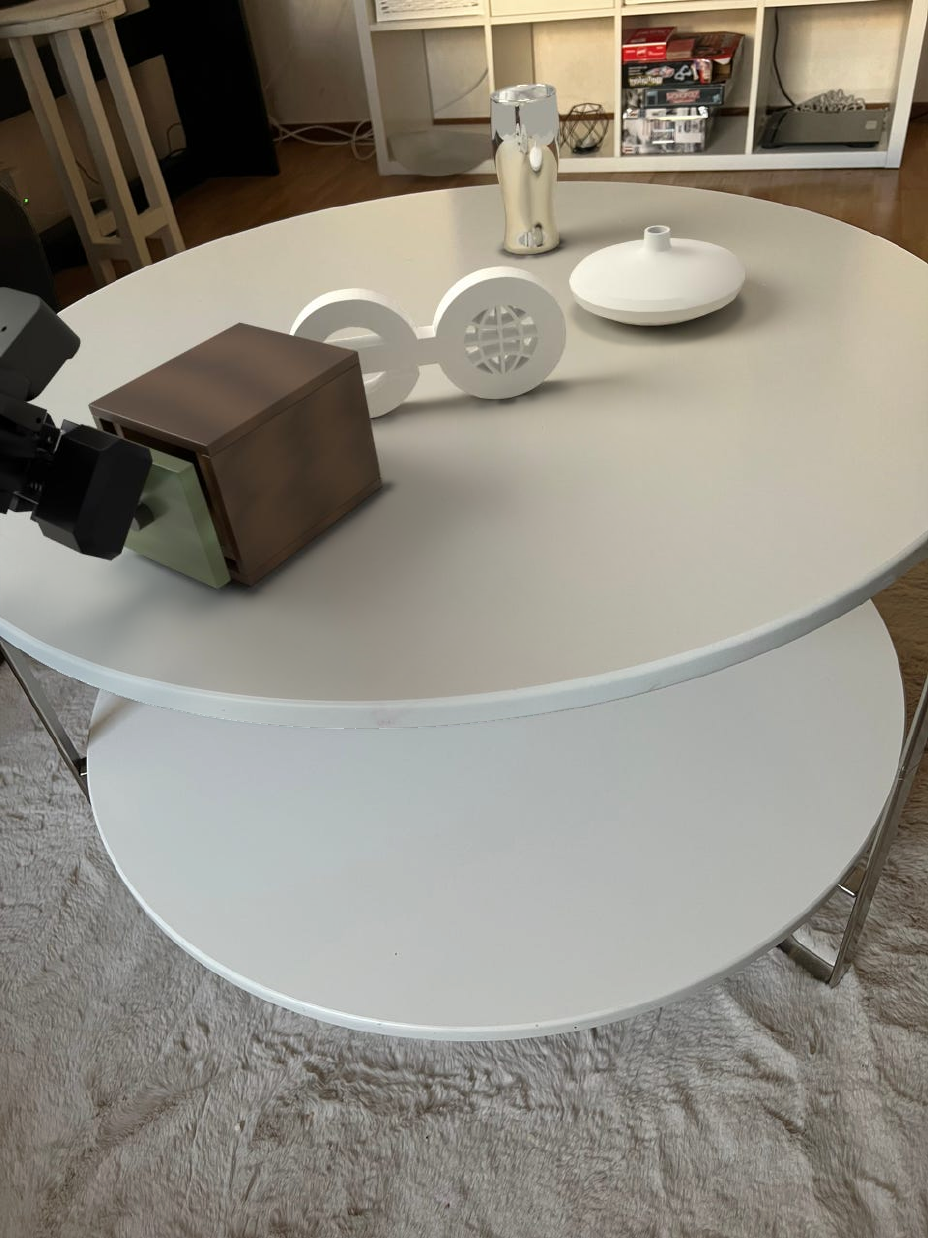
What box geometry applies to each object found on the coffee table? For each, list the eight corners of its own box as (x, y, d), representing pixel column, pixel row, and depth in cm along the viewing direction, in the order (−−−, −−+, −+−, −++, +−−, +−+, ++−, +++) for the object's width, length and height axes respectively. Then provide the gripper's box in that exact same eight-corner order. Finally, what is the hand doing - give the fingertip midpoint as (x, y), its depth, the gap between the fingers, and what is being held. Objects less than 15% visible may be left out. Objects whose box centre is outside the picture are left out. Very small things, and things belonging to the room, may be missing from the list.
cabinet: (250, 586, 64) (206, 445, 57) (139, 537, 70) (87, 404, 63) (383, 485, 72) (358, 350, 65) (272, 448, 78) (239, 321, 71)
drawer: (204, 600, 62) (162, 482, 56) (103, 553, 67) (56, 441, 62) (347, 494, 70) (322, 381, 64) (247, 459, 75) (216, 352, 69)
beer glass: (543, 228, 110) (536, 79, 100) (575, 245, 105) (571, 90, 95) (488, 243, 108) (475, 93, 98) (518, 261, 103) (508, 105, 93)
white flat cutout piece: (562, 376, 82) (558, 257, 76) (568, 388, 80) (563, 267, 74) (303, 415, 81) (275, 298, 75) (302, 428, 80) (274, 310, 73)
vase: (620, 265, 99) (620, 192, 95) (770, 287, 91) (778, 209, 87) (538, 327, 90) (533, 250, 85) (697, 357, 82) (701, 274, 78)
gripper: (50, 290, 43) (282, 404, 56) (-155, 238, 52) (86, 346, 66) (-31, 530, 43) (218, 586, 57) (-218, 435, 53) (33, 502, 66)
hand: (134, 495), depth 61 cm, fingers closed, pressing on drawer
